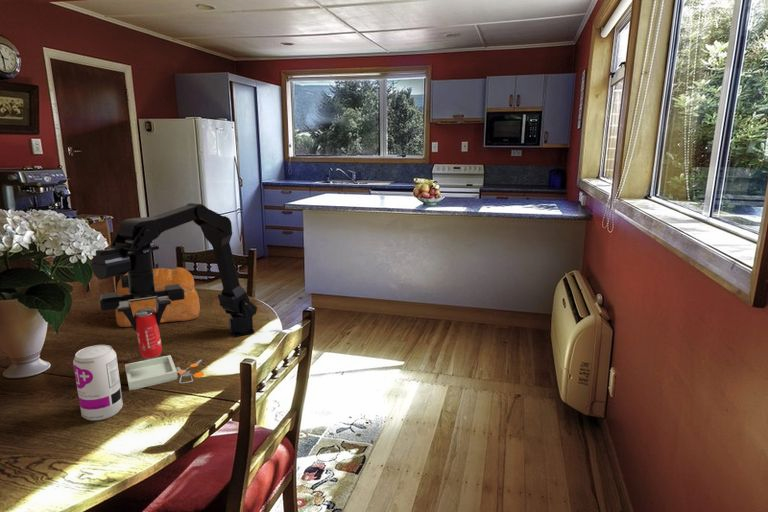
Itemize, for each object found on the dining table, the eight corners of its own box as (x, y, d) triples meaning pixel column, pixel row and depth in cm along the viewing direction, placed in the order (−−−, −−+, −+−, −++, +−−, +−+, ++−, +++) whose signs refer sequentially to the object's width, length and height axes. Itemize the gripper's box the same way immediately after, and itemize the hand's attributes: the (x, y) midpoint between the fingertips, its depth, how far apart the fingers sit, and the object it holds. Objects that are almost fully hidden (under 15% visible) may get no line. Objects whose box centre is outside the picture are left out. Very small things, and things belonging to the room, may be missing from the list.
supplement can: (94, 426, 103) (84, 363, 99) (74, 414, 107) (64, 353, 103) (130, 409, 109) (122, 349, 106) (110, 398, 114) (102, 340, 110)
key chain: (205, 381, 123) (205, 378, 123) (175, 385, 120) (174, 382, 120) (204, 360, 135) (203, 357, 134) (176, 364, 132) (175, 361, 132)
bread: (120, 314, 168) (114, 267, 163) (200, 305, 177) (196, 261, 173) (114, 330, 153) (107, 279, 149) (200, 320, 163) (196, 272, 159)
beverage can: (154, 360, 121) (147, 317, 118) (136, 358, 122) (128, 315, 119) (166, 350, 126) (159, 308, 123) (149, 348, 127) (141, 307, 124)
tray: (171, 362, 132) (170, 355, 132) (177, 379, 123) (177, 371, 123) (125, 371, 127) (124, 364, 126) (129, 390, 117) (128, 382, 117)
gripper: (175, 258, 130) (180, 312, 133) (96, 266, 120) (103, 324, 124) (182, 268, 120) (187, 325, 124) (97, 277, 111) (105, 339, 114)
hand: (146, 328), depth 122 cm, fingers closed on beverage can, 5 cm apart
